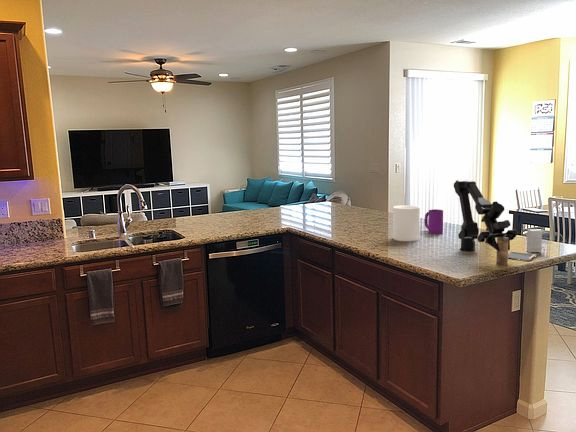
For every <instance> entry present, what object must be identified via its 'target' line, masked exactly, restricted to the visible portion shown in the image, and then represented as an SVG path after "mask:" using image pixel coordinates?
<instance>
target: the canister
mask: <svg viewBox="0 0 576 432" xmlns="http://www.w3.org/2000/svg"><path fill="white" fill-rule="evenodd" d="M392 207H393V208H392V213H393V214H392V226H393V227H392V238H393V240H395V241H397V242H398V241H399V242H415V241H420V226H421V225H420V222H421V221H420V219H421V218H420V212H421V211H420V209H421V207H420V206H419V205H407V204H404V205H403V204H402V205H401V204H400V205H394V206H392Z"/></svg>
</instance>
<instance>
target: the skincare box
mask: <svg viewBox="0 0 576 432" xmlns="http://www.w3.org/2000/svg"><path fill="white" fill-rule="evenodd" d="M542 240H543V230H541V229H539V228H534V229H533V228H531V229H526V252H527V251H528V252H527V253H529V252H539V253H542V243H543V241H542Z"/></svg>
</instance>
